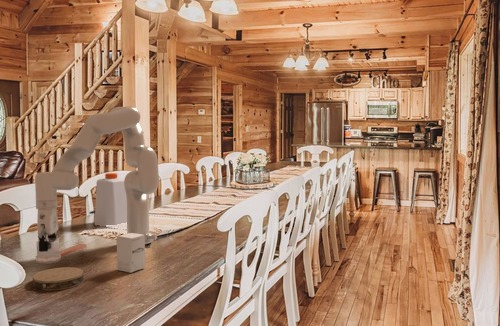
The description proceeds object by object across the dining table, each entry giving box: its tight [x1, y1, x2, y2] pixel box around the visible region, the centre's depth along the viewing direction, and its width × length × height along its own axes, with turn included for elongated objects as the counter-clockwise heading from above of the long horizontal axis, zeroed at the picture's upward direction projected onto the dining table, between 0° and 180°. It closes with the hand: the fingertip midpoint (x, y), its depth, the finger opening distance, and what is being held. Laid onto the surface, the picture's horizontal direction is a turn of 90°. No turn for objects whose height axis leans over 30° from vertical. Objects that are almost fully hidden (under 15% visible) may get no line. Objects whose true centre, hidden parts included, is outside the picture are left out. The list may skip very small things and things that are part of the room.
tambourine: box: [32, 266, 84, 291], centre depth 165 cm, size 16×16×3 cm
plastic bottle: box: [94, 172, 127, 227], centre depth 256 cm, size 15×15×28 cm
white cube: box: [36, 237, 61, 258], centre depth 190 cm, size 6×6×6 cm
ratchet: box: [35, 243, 87, 265], centre depth 198 cm, size 9×26×6 cm, turn 164°
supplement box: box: [116, 233, 146, 274], centre depth 179 cm, size 7×7×13 cm
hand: (48, 248), depth 190 cm, fingers open, 9 cm apart
